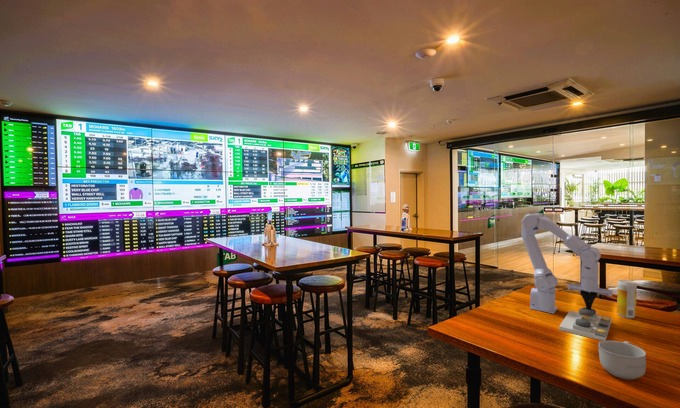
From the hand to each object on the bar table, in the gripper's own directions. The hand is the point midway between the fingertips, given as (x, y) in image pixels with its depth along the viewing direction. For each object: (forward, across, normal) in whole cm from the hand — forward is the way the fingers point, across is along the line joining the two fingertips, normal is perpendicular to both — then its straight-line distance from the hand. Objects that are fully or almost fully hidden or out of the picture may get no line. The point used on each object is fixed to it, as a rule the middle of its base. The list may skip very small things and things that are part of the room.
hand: (588, 309), depth 135 cm
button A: (+3, 0, -15) cm, 15 cm away
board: (+5, 0, -8) cm, 9 cm away
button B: (+1, 0, -8) cm, 8 cm away
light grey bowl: (+5, +13, -40) cm, 42 cm away
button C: (+3, 0, 0) cm, 3 cm away
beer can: (+5, +11, +16) cm, 20 cm away
